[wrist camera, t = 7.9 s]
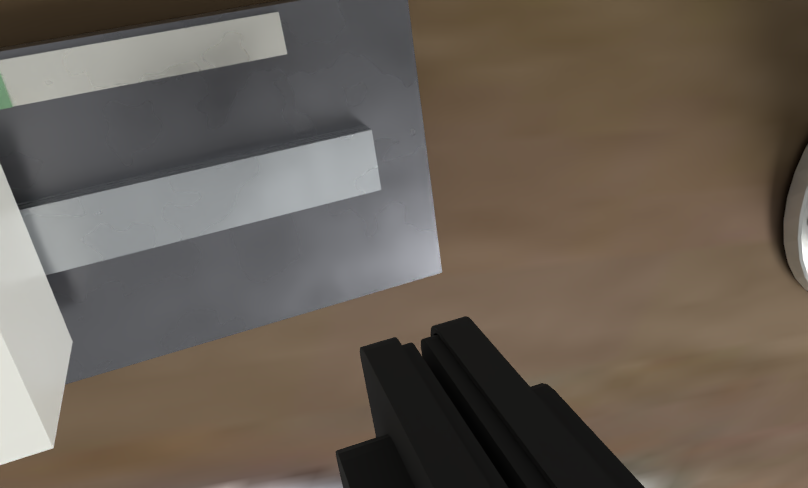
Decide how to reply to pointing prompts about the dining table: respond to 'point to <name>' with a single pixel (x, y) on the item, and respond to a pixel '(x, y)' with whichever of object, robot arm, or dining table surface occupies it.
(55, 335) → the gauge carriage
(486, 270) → the dining table surface
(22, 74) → the gauge bench
